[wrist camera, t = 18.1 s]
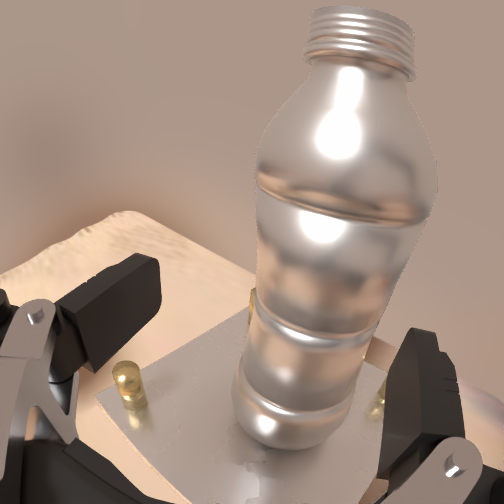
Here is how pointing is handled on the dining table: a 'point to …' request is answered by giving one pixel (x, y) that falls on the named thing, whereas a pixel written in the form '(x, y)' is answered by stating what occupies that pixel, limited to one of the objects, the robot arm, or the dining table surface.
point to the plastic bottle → (332, 225)
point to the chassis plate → (237, 429)
